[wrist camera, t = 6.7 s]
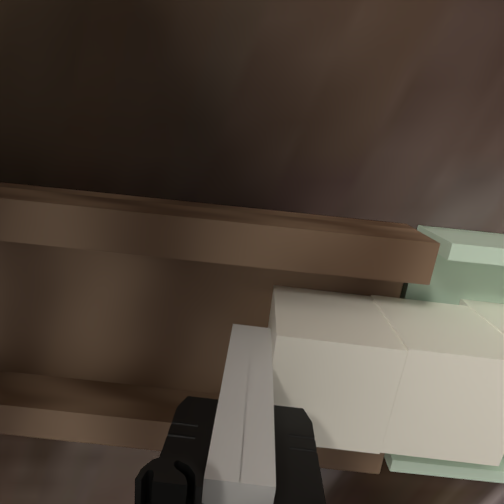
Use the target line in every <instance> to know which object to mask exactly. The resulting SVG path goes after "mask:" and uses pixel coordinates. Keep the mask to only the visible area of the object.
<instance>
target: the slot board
mask: <svg viewBox="0 0 504 504" xmlns="http://www.w3.org/2000/svg"><path fill="white" fill-rule="evenodd" d="M439 247H440V243H439V242H437V241H435V240H434V239H432V238H430V237H428V236H426V235H425V234H423V233H421V232H419V231H418V230H416V229H414V228H412V227H411V226H409V225H407V224H403V223H393V222H383V221H373V220H364V219H354V218H344V217H334V216H325V215H315V214H305V213H295V212H286V211H276V210H266V209H256V208H247V207H237V206H227V205H217V204H208V203H198V202H188V201H178V200H169V199H159V198H149V197H140V196H130V195H120V194H110V193H101V192H91V191H81V190H71V189H62V188H52V187H42V186H32V185H23V184H13V183H3V182H0V434H6V435H15V436H24V437H34V438H43V439H53V440H62V441H72V442H81V443H90V444H100V445H109V446H119V447H128V448H138V449H147V450H156V451H162V449H163V446H164V443H165V440H166V437H167V435H168V431H169V428H170V425H171V424H172V420H173V417H174V414H175V411H176V408H177V406H178V405H179V404H180V403H181V402H182V401H183V400H184V399H185V398H186V397H187V396H193V397H201V398H209V399H218V400H219V395H220V390H221V385H222V379H223V374H224V369H225V363H226V358H227V353H228V347H229V342H230V337H231V332H232V326H233V324H239V325H248V326H256V327H265V328H268V323H269V316H270V309H271V301H272V294H273V287H274V285H277V286H286V287H294V288H303V289H312V290H320V291H329V292H337V293H346V294H355V295H363V296H371V295H377V296H385V297H394V298H400V293H401V289H402V285H403V282H404V283H413V284H423V285H430V281H431V277H432V273H433V270H434V266H435V262H436V258H437V254H438V251H439ZM316 448H317V454H318V460H319V466H320V468H326V469H335V470H345V471H354V472H364V473H373V474H380V470H381V466H382V462H383V458H384V455H385V453H380V454H374V453H365V452H357V451H348V450H340V449H331V448H323V447H316Z"/></svg>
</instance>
